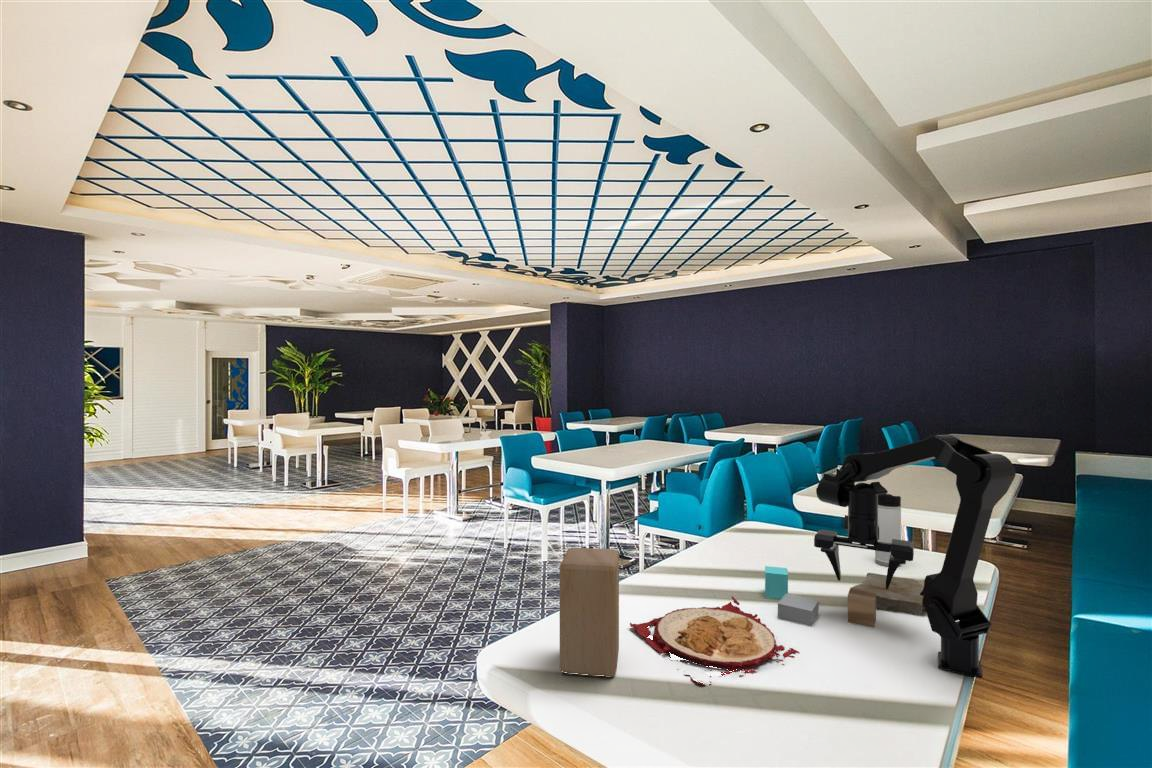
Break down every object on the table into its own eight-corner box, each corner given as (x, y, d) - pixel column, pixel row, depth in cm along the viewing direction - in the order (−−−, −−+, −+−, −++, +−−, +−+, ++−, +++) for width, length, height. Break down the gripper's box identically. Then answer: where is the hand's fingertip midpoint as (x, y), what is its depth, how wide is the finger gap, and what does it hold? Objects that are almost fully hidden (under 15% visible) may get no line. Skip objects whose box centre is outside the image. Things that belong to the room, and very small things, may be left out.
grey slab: (811, 627, 119) (811, 611, 119) (777, 619, 123) (777, 603, 123) (818, 615, 125) (818, 600, 125) (785, 608, 129) (786, 593, 128)
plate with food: (628, 632, 118) (628, 615, 118) (730, 608, 128) (730, 593, 128) (699, 695, 95) (699, 674, 95) (816, 659, 106) (816, 641, 106)
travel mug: (869, 562, 160) (869, 491, 160) (885, 558, 163) (885, 489, 162) (889, 569, 154) (890, 495, 154) (905, 565, 157) (906, 493, 157)
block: (558, 676, 99) (558, 562, 99) (567, 648, 109) (567, 545, 109) (615, 680, 98) (615, 565, 97) (619, 652, 108) (619, 547, 107)
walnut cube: (873, 628, 118) (874, 599, 118) (847, 622, 121) (847, 594, 121) (876, 619, 122) (876, 591, 122) (850, 614, 125) (850, 587, 125)
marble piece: (847, 605, 130) (847, 587, 130) (851, 585, 143) (851, 568, 143) (932, 620, 122) (932, 601, 122) (928, 597, 135) (928, 580, 135)
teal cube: (787, 600, 133) (787, 574, 133) (765, 597, 134) (765, 572, 134) (786, 592, 138) (786, 568, 137) (765, 590, 139) (765, 566, 139)
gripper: (914, 509, 123) (914, 581, 123) (822, 500, 133) (822, 566, 133) (913, 520, 114) (912, 597, 114) (813, 509, 124) (813, 580, 124)
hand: (862, 584), depth 121 cm, fingers open, 9 cm apart
